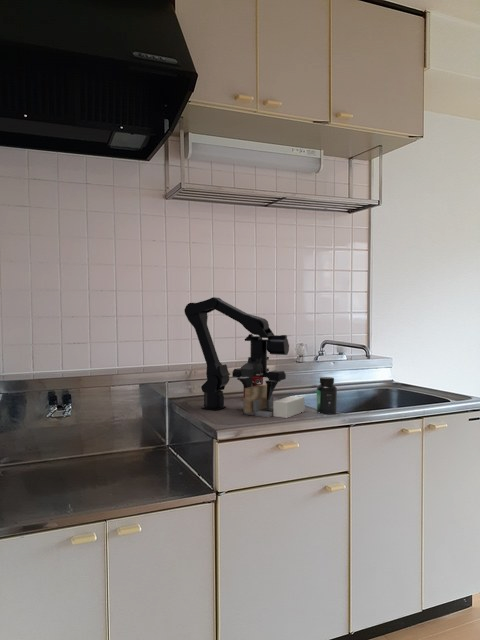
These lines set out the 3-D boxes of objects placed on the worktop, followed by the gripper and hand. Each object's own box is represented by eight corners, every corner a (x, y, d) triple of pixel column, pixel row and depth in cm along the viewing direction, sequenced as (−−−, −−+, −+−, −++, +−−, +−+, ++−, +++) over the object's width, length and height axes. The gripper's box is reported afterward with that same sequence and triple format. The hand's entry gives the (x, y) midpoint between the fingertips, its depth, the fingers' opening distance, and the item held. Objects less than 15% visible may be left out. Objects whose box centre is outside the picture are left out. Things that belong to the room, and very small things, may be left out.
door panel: (266, 405, 180) (266, 383, 180) (271, 406, 179) (271, 383, 178) (244, 411, 168) (244, 388, 168) (249, 412, 167) (249, 388, 167)
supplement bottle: (317, 414, 170) (317, 378, 170) (316, 410, 176) (316, 376, 176) (337, 414, 169) (337, 379, 169) (336, 410, 176) (336, 376, 175)
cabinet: (243, 413, 170) (243, 399, 170) (266, 406, 183) (266, 393, 183) (282, 419, 161) (282, 403, 161) (304, 411, 174) (304, 397, 174)
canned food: (241, 401, 194) (241, 373, 193) (246, 398, 201) (246, 371, 201) (260, 402, 192) (260, 373, 192) (264, 399, 200) (264, 371, 199)
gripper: (223, 354, 172) (223, 399, 172) (270, 357, 161) (269, 405, 161) (241, 352, 181) (241, 395, 181) (286, 354, 170) (286, 400, 171)
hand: (258, 398), depth 173 cm, fingers open, 8 cm apart
